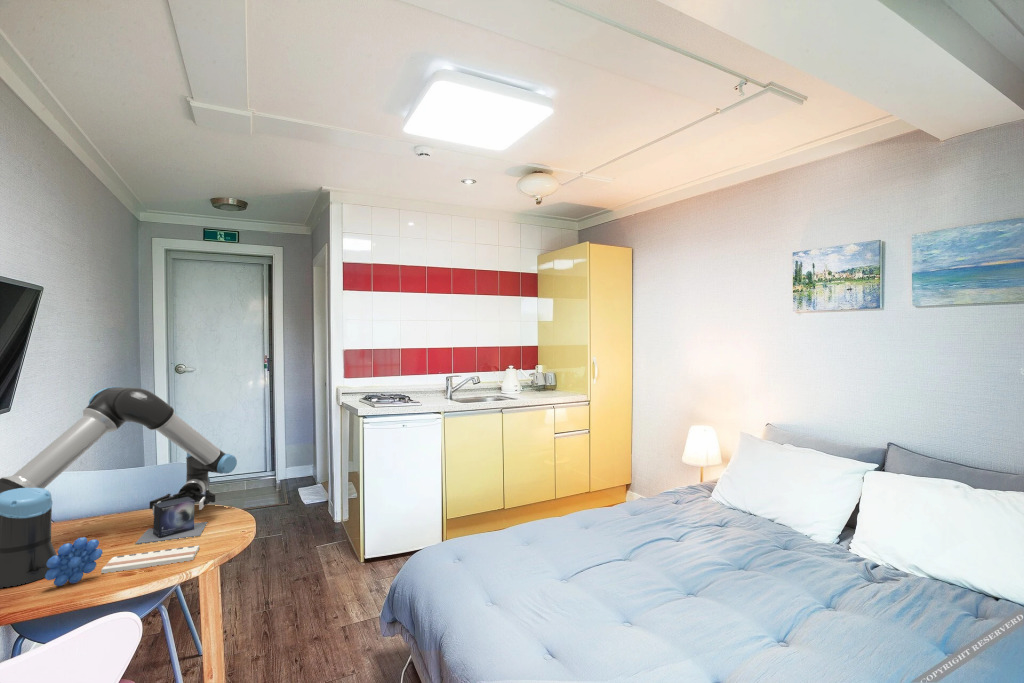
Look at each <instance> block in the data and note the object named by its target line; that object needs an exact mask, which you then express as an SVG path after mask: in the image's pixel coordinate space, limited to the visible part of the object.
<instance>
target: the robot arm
mask: <svg viewBox="0 0 1024 683" xmlns="http://www.w3.org/2000/svg"><path fill="white" fill-rule="evenodd" d="M127 422H128V423H129V422H131V423H136V424H139V425H142V426H144V427H146V428H147V429H149V430H150V431H157V432H158V433H159V434H161V435H162V436H164V437H165V438H166V439H168V440H169V441H170V442H172V443H173V444H175V445H176V446H177V447H179V448H180V449H182V450H183V451H184V452H186V457H185V459H186V462H185V463H186V475H185V477H186V482H185V483H184V485H183V486H182V487H181V488H180V489H179V491H178V492H177V493H175V494H173V495H172V493H167V494H166V495H164V496H160V497H159V498H156V499H152V500H151V501H149V510H151V511H152V516H154V504H155V503H159V502H164V501H169V500H174V499H179V498H183V497H190V498H192V499H194V500H195V503H197V502H198V510H199V511H200V510H201V511H202V509H204V507H205V506H206V505H209V504H210V503H216V495H215V494H214V493H212V492H211V491H210V490H209V489H208V488H209V486H210V484H211V478H210V476H209V473H217V474H227V475H228V474H230V473H232V472H233V471H234V470H235V469H236V467H237V465H238V460H237V458H236V456H235V455H233V454H230V453H226V452H224V451H222V450H221V449H220V448H219V447H217V446H216V445H215V444H213V443H212V442H211V441H210V440H209V439H207V438H206V437H205V436H203V435H202V434H201V433H200V432H198V431H197V430H196V429H195V428H193V427H192V426H191V425H190V424H188V423H187V422H186V421H185V420H183V419H182V418H181V417H179V416H178V415H177V414H176V413H175V409H174V408H173V406H171V405H170V404H168V403H167V402H166V401H164V400H163V399H161V398H160V397H159V396H158V395H157V394H154V393H153V392H151V391H149V390H147V389H144V388H140V387H122V386H112V387H111V386H110V387H106V388H101V389H100V390H98V391H96V392H95V393H94V394H92V396H91V397H90V398H89V400H88V405H87V406H86V407H85V408H84V409H83V410H82V417H81V418H80V419H78V420H77V421H76V422H75V423H74V424H72V425H71V426H70V427H68V428H67V430H65V431H64V432H63V433H61V434H60V436H59V435H58V437H57V438H55V440H53V441H52V442H51V443H50V444H49V445H48V446H46V447H45V448H44V449H43V450H42V451H40V452H39V453H37V455H35V456H34V457H33V458H31V460H30V461H28V462H27V463H26V464H25V465H23V466H22V467H21V468H20V469H18V471H17V472H15V473H13V474H12V475H9V476H2V477H0V589H4V588H3V587H7V588H11V587H10V586H13V587H17V585H18V586H21V584H22V585H25V583H26V584H29V583H32V582H35V581H39V580H41V579H45V574H46V573H47V571H48V570H50V569H51V568H48V567H47V565H46V563H47V561H48V560H49V559H50V558H51V557H53V556H55V555H58V553H57V552H56V550H55V547H54V546H53V543H52V514H53V513H52V511H53V510H52V509H53V500H52V493H51V492H50V491H49V490H47V489H46V488H47V487H48V486H49V485H50V484H51V483H52V482H53V481H54V480H56V478H58V477H59V476H60V475H61V474H62V473H63V472H64V471H66V470H67V469H68V468H69V467H70V466H71V465H72V464H73V463H75V462H76V461H77V460H78V459H79V458H80V457H81V456H82V455H83V454H84V453H85V452H87V450H89V449H90V448H91V447H92V446H93V445H95V444H96V443H97V442H98V441H99V440H100V439H101V438H103V436H105V434H107V433H111V432H116V431H118V429H120V427H121V426H123V425H124V424H125V423H127Z"/></svg>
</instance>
